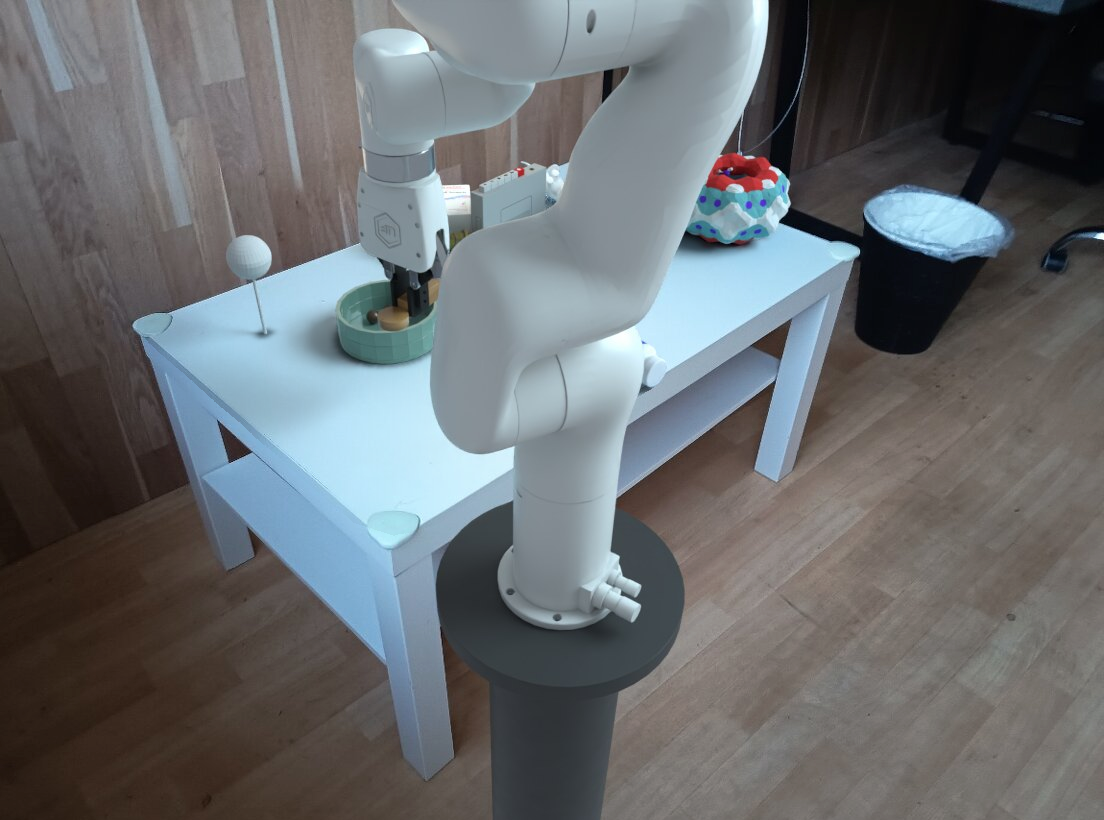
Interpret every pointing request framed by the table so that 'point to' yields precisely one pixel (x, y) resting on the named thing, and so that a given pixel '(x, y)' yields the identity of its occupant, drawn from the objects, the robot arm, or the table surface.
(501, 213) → the cassette player
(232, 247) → the lollipop
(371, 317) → the bead
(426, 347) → the bowl
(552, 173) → the elephant figurine
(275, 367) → the table surface
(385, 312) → the spoon
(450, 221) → the ink box
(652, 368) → the pill bottle
